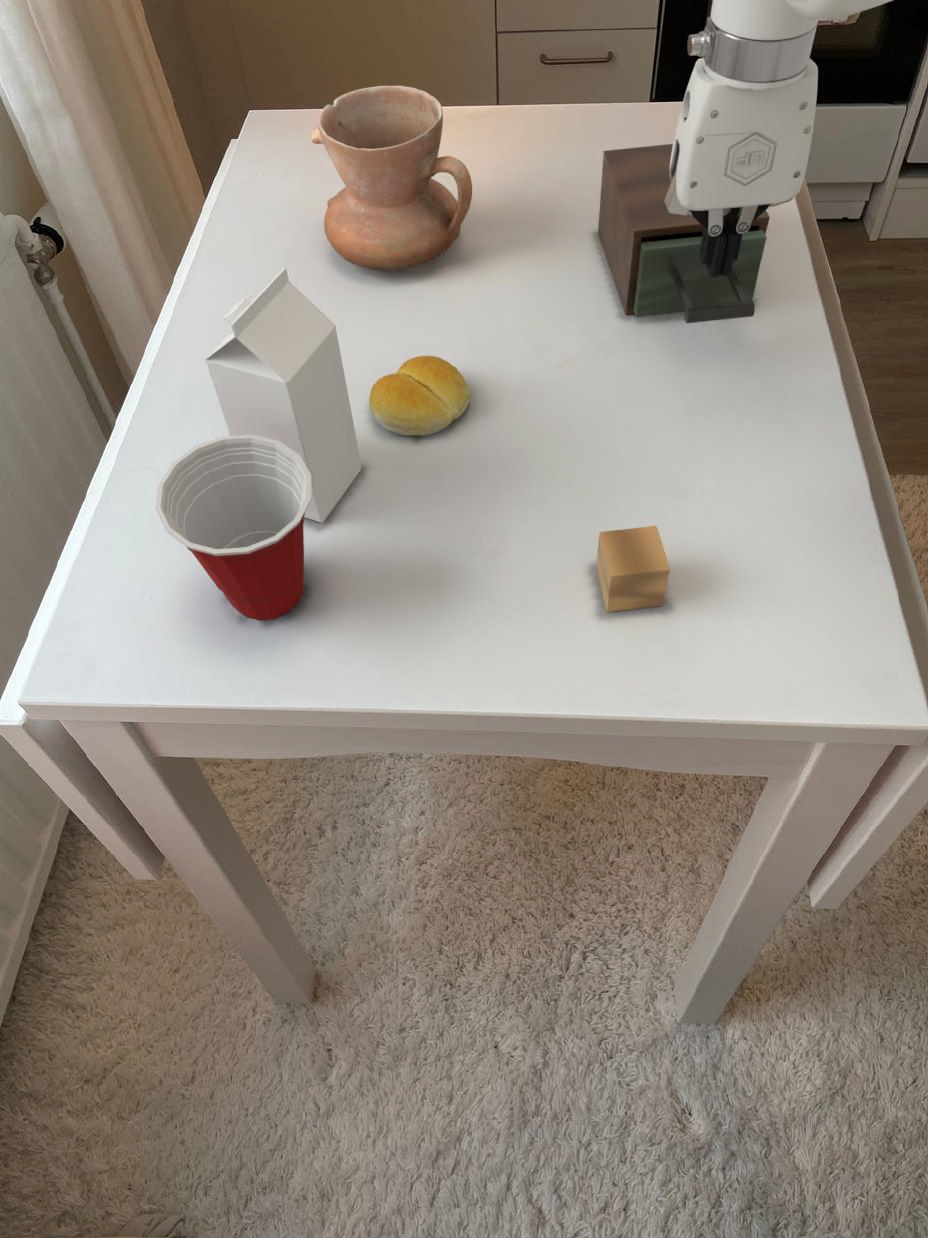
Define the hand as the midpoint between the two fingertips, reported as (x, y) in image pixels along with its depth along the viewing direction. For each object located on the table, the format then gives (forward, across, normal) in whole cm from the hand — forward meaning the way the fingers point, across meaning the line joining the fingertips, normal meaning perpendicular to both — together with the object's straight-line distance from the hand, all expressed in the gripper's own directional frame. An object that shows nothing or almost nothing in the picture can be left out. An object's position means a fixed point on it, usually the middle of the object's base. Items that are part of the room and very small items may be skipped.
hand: (716, 267), depth 85 cm
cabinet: (+8, 0, +13) cm, 15 cm away
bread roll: (+8, -27, -5) cm, 29 cm away
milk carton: (+8, -38, -13) cm, 41 cm away
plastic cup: (+8, -41, -25) cm, 49 cm away
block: (+8, -13, -28) cm, 32 cm away
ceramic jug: (+9, -28, +21) cm, 36 cm away
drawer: (+7, 0, +7) cm, 10 cm away
